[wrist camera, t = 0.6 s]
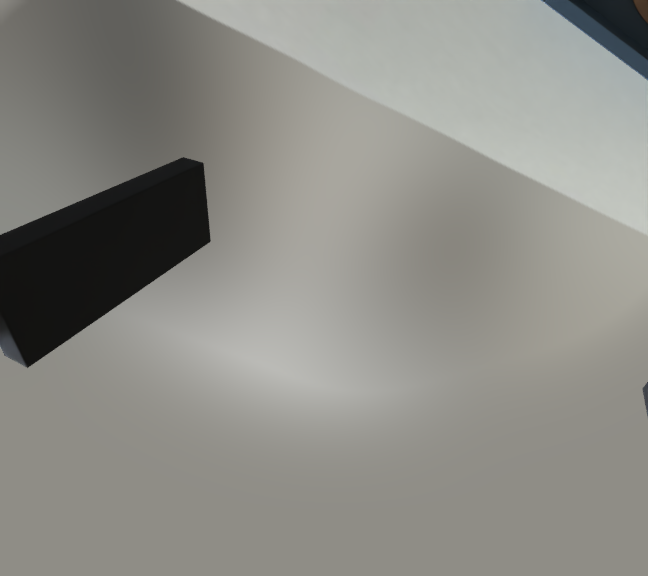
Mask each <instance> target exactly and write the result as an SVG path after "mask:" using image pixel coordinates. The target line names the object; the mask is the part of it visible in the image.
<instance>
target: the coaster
mask: <svg viewBox="0 0 648 576" xmlns="http://www.w3.org/2000/svg"><path fill="white" fill-rule="evenodd" d="M633 2H634V4H635V6H636V9H637V11H638V12H639V14H640V15H641V17H642V18H643V19H644V20H645V21H646V22H647V23H648V0H633Z"/></svg>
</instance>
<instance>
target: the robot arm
mask: <svg viewBox="0 0 648 576" xmlns="http://www.w3.org/2000/svg"><path fill="white" fill-rule="evenodd" d="M209 242H210V230H209V219H208V208H207V198H206V187H205V176H204V165H203V163H202V162H198V161H195V160H191V159H187V158H184V157H183V158H180V159H178V160H176V161H174V162H171V163H169V164H166V165H164V166H162V167H159V168H157V169H155V170H152V171H150V172H148V173H145V174H143V175H140V176H138V177H136V178H134V179H131V180H129V181H126V182H124V183H122V184H119V185H117V186H114V187H112V188H110V189H108V190H105V191H103V192H100V193H98V194H96V195H93V196H91V197H89V198H86V199H84V200H82V201H79V202H77V203H75V204H72V205H70V206H68V207H65V208H63V209H60V210H58V211H56V212H53V213H51V214H49V215H46V216H44V217H42V218H39V219H37V220H35V221H32V222H30V223H27V224H25V225H23V226H20V227H18V228H16V229H13V230H11V231H9V232H7V233H4V234H2V235H0V347H1V349H2V351H3V353H4V355H5V356H7V357H8V358H10V359H12V360H14V361H16V362H18V363H20V364H22V365H23V366H25V367H27V368H28V367H29V366H31V365H32V364H34V363H35V362H37V361H38V360H39V359H41V358H42V357H44V356H45V355H47V354H48V353H50V352H51V351H53V350H54V349H55V348H57V347H58V346H60V345H61V344H63V343H64V342H65V341H67V340H69V339H70V338H71V337H73V336H74V335H75V334H77V333H79V332H80V331H82V330H83V329H84V328H86V327H87V326H89V325H90V324H92V323H93V322H94V321H96V320H97V319H99V318H100V317H102V316H103V315H105V314H106V313H108V312H109V311H110V310H112V309H113V308H115V307H116V306H118V305H119V304H121V303H122V302H123V301H125V300H126V299H128V298H129V297H131V296H132V295H134V294H135V293H137V292H138V291H139V290H141V289H142V288H144V287H145V286H146V285H148V284H150V283H151V282H152V281H154V280H155V279H157V278H158V277H160V276H161V275H163V274H164V273H166V272H167V271H168V270H170V269H171V268H173V267H174V266H176V265H177V264H178V263H180V262H181V261H183V260H184V259H186V258H187V257H189V256H190V255H192V254H193V253H195V252H196V251H197V250H199V249H200V248H202V247H203V246H205V245H206V244H207V243H209ZM643 393H644V399H645V405H646V410H647V415H648V382H647V384H646V385H645V386H644V387H643Z"/></svg>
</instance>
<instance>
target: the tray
mask: <svg viewBox="0 0 648 576" xmlns="http://www.w3.org/2000/svg"><path fill="white" fill-rule="evenodd" d="M541 1H543V2H544V3H545V4H547V5H548V6H549V7H551V8H552V9H553V10H555V11H556V12H557V13H559V14H560V15H561V16H563V17H564V18H565V19H567V20H568V21H569V22H571V23H572V24H573V25H575V26H576V27H577V28H579V29H580V30H581V31H583V32H584V33H585V34H587V35H588V36H589V37H591V38H592V39H593V40H595V41H596V42H597V43H599V44H600V45H602V46H603V47H604V48H606V49H607V50H608V51H610V52H611V53H612V54H614V55H615V56H616V57H618V58H619V59H620V60H622V61H623V62H624V63H626V64H627V65H628V66H630V67H631V68H632V69H634V70H635V71H636V72H638V73H639V74H640V75H642V76H643V77H644V78H646V79H647V80H648V23H647V22H646V21H645V20H644V19H643V18H642V17H641V15H640V14H639V12H638V11H637V9H636V6H635V4H634V2H633V0H541Z"/></svg>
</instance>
